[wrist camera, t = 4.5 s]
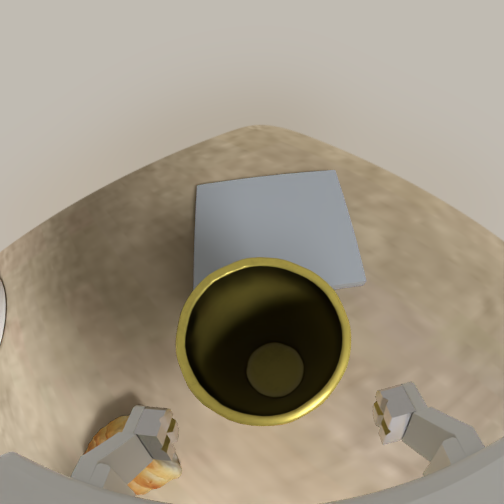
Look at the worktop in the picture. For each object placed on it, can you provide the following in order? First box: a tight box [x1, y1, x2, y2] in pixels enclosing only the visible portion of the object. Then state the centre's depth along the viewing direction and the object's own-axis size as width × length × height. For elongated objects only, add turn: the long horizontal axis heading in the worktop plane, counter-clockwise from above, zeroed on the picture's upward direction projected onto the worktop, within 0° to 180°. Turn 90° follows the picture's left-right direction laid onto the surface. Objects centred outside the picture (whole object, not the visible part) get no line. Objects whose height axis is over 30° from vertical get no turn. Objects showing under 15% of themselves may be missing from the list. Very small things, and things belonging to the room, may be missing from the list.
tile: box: [193, 170, 366, 290], centre depth 26 cm, size 14×12×1 cm
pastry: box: [83, 415, 182, 495], centre depth 16 cm, size 9×7×4 cm
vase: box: [176, 257, 351, 426], centre depth 14 cm, size 6×6×14 cm
